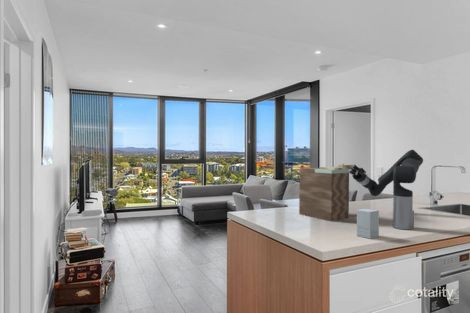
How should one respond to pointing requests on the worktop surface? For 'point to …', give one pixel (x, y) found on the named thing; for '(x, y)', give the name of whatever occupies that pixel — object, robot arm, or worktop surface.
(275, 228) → the worktop surface
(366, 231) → the supplement box
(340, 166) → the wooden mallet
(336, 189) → the walnut stand
